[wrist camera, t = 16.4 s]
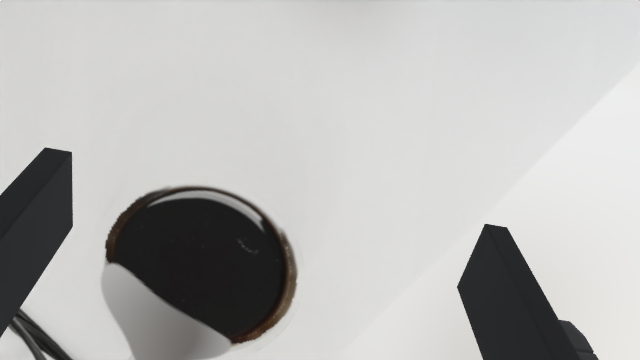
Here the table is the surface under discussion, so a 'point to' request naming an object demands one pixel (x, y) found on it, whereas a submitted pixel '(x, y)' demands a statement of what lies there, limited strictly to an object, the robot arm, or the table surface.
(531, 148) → the table surface
